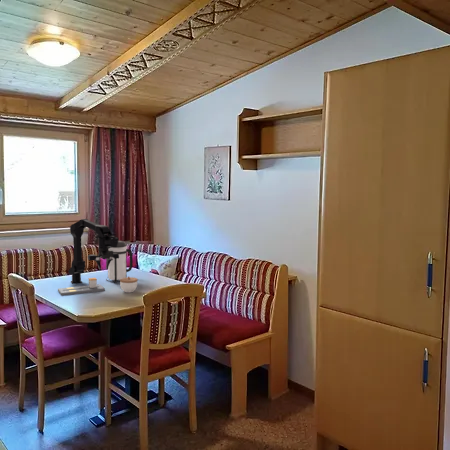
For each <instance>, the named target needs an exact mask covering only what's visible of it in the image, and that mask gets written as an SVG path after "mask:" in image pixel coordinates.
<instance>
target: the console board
mask: <svg viewBox="0 0 450 450" xmlns="http://www.w3.org/2000/svg"><path fill="white" fill-rule="evenodd" d="M104 291H106V290H105V287H104V286H102V284H100V283H99V284H97V287H94V288H90V287H89V284H87V285H77V286H72V287H71V286H70V287H60V288H57V292H58V293H59V295H60V296H68V295H69V296H70V295H77V294H78V295H80V294H88V293H89V294H90V293H97V292H104Z"/></svg>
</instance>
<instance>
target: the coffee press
mask: <svg viewBox="0 0 450 450" xmlns="http://www.w3.org/2000/svg"><path fill="white" fill-rule="evenodd" d="M115 238H116V239H117V241H118V244H117V246H116V247H108V250H109V251H113V253H117V254H119V258H117V259H114V258H112V259H113V260H111V262H110V264H109V266H108V269H107V278H106V281H107V282H108V281H109V280H111V281H114V284H117V283H118V281H120V279H122V278H127V277H128V276H127V273H129V272H130V271H132V269H133V266H134V265H133V262H134V261H133V257H134V256H133V251H132V250H131V249H128V248H127V247H128V246H127V245H128V244H126V242H125V241H124V240H119V237H115ZM127 252H128V254H129V267H128V268H127V265H128V264H127Z"/></svg>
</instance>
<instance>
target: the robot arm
mask: <svg viewBox="0 0 450 450" xmlns="http://www.w3.org/2000/svg"><path fill="white" fill-rule="evenodd" d="M109 227H110V226H108V225H105V224H98V223H96V222H93V221H92V220H89V219H88V218H82V219H81V218H80V219H79V220H78V221H77V222H74V223H72V224H71V225H70V226H69V229H70V231H69V232H70V235H71V236H72V239H73V241H72V242H73V243H72V244H73V259H72V261H71V264H70V265H71V267H70V268H69V269H68V270H67V271H68V272H67V273H68V275H71V280H70V283H71V284H73V285H74V284H81V283H83V281H82V274H84V272H85V269H86V261H85V260H84V259H83V255H82V254H83V252H82V236H83V234H84V229H86V228H88V229H89V230H92V231H94V232H95V234H96V239H98V253H97V254H98V255H96V254H88V255H87V260H88V261H94V262H95V263H96V264H97V267H98V269H99V271H102V269H101V268H102V266H101V262H102V261H101V259H102V260H105V261H106V262H105V263H106V264H105V269H106V271H108V266H109V264H110V262H111V260H113V259H112V258H114V259H117V258H119V254H117V253H113V251H109V250H108V247H116V246H117V244H118V241H119V240H118V241H117V239H116V238H117V237H116V236H115V235H113V233H112V232H111V230H110V228H109Z"/></svg>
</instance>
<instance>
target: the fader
mask: <svg viewBox="0 0 450 450" xmlns="http://www.w3.org/2000/svg"><path fill="white" fill-rule="evenodd" d="M97 280H98V279H97V277H88V285H89V287H90V288H94V287H97V285H98V284H97V283H98V281H97Z"/></svg>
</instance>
